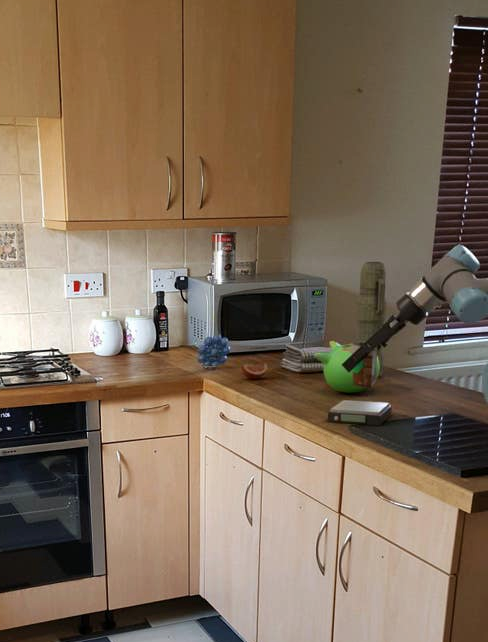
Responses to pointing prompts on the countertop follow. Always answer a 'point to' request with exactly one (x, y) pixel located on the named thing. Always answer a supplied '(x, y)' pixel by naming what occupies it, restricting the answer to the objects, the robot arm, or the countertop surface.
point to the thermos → (371, 303)
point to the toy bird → (340, 368)
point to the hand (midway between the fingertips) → (352, 364)
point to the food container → (364, 367)
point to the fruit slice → (254, 370)
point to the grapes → (213, 351)
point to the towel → (303, 359)
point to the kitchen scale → (360, 412)
